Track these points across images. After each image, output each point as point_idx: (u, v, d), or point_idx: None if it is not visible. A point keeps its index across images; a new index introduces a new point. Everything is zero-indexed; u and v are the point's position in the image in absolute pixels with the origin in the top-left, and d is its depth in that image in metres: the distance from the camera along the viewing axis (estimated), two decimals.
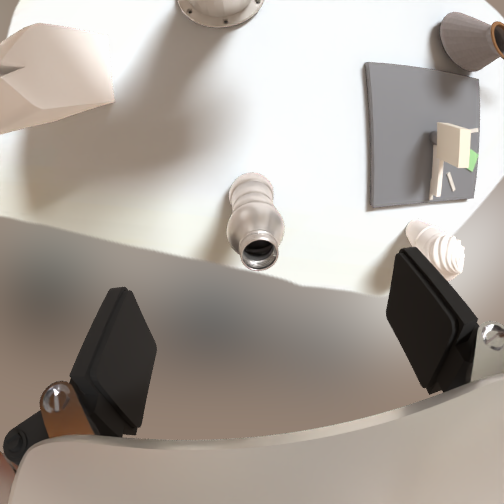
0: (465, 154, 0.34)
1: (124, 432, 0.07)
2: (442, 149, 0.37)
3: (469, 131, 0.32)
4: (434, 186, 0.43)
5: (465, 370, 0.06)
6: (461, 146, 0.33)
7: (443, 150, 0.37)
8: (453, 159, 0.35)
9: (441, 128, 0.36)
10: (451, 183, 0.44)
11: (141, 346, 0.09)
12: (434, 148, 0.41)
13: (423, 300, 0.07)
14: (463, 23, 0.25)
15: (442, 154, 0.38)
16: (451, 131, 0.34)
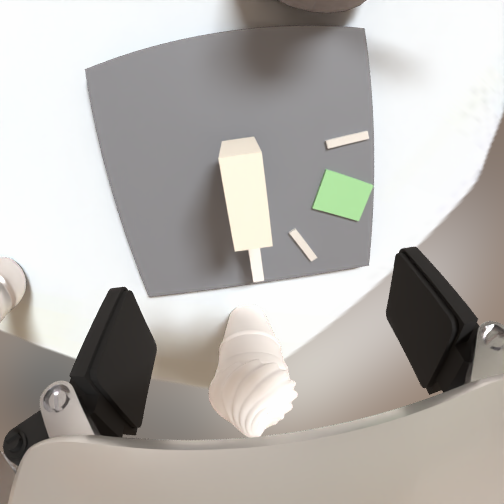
0: (253, 218, 0.18)
1: (124, 432, 0.07)
2: None
3: (257, 157, 0.16)
4: None
5: (465, 370, 0.06)
6: (233, 201, 0.17)
7: None
8: None
9: None
10: (304, 248, 0.29)
11: (141, 346, 0.09)
12: None
13: (423, 300, 0.07)
14: None
15: None
16: None
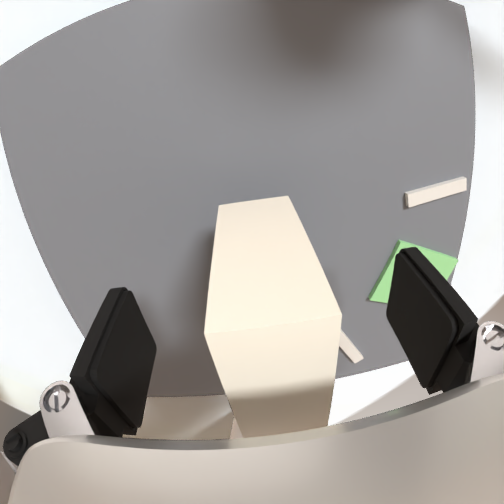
0: (293, 423, 0.07)
1: (124, 432, 0.07)
2: None
3: (325, 328, 0.05)
4: None
5: (465, 370, 0.06)
6: (250, 407, 0.06)
7: None
8: None
9: None
10: (347, 350, 0.18)
11: (141, 346, 0.09)
12: None
13: (423, 300, 0.07)
14: None
15: None
16: None
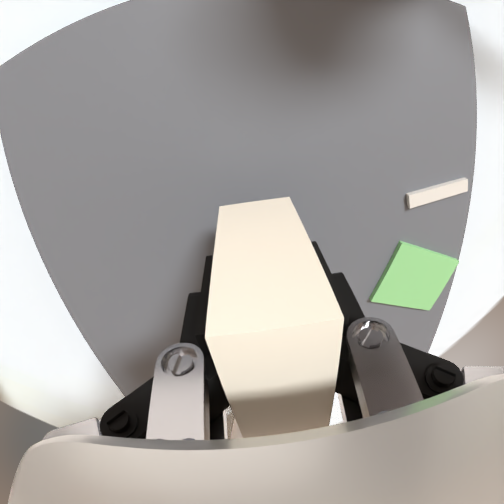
0: (295, 426, 0.07)
1: None
2: None
3: (327, 331, 0.05)
4: None
5: (339, 365, 0.07)
6: (251, 410, 0.06)
7: None
8: None
9: None
10: None
11: None
12: None
13: None
14: None
15: None
16: None
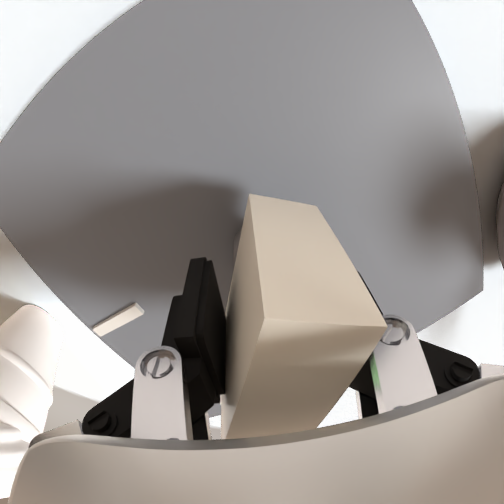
0: (284, 427, 0.07)
1: None
2: (228, 320, 0.11)
3: (369, 336, 0.05)
4: None
5: None
6: (257, 403, 0.06)
7: (227, 328, 0.10)
8: (224, 404, 0.08)
9: (245, 232, 0.09)
10: None
11: (220, 315, 0.10)
12: None
13: None
14: None
15: None
16: (249, 282, 0.07)
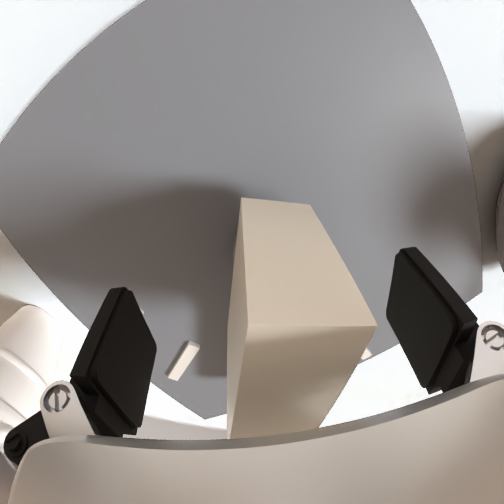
0: (285, 427, 0.07)
1: (124, 432, 0.07)
2: (230, 324, 0.11)
3: (359, 336, 0.05)
4: None
5: (465, 370, 0.06)
6: (255, 406, 0.06)
7: (229, 331, 0.10)
8: (228, 407, 0.08)
9: (238, 236, 0.09)
10: (179, 365, 0.18)
11: (141, 346, 0.09)
12: None
13: (423, 300, 0.07)
14: None
15: (228, 340, 0.11)
16: (240, 287, 0.07)
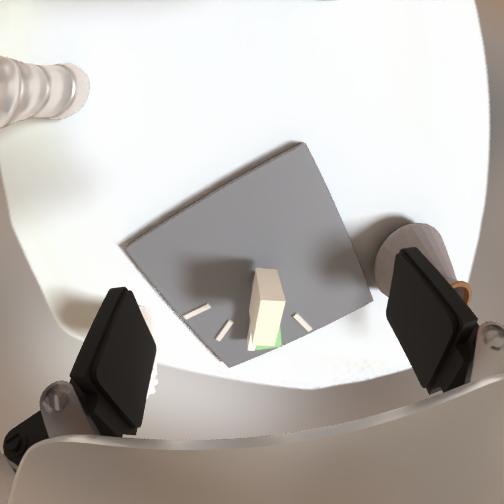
0: (268, 331, 0.30)
1: (124, 432, 0.07)
2: (251, 307, 0.34)
3: (282, 303, 0.28)
4: (248, 337, 0.39)
5: (465, 370, 0.06)
6: (261, 321, 0.29)
7: (251, 309, 0.33)
8: (252, 330, 0.31)
9: (255, 280, 0.32)
10: (222, 332, 0.40)
11: (141, 346, 0.09)
12: None
13: (423, 300, 0.07)
14: (435, 247, 0.31)
15: (250, 312, 0.34)
16: (257, 294, 0.30)
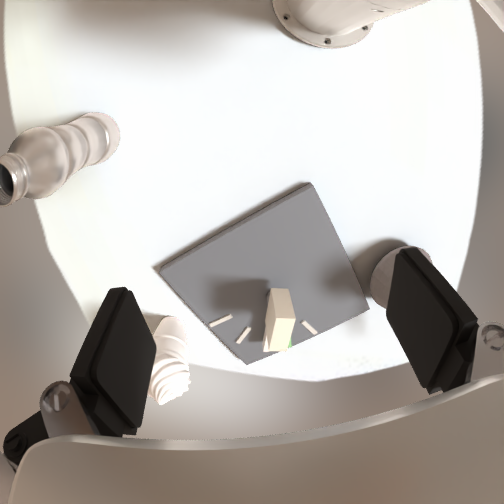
0: (282, 340, 0.37)
1: (124, 432, 0.07)
2: (267, 319, 0.41)
3: (292, 320, 0.35)
4: (264, 341, 0.46)
5: (465, 370, 0.06)
6: (276, 333, 0.36)
7: (267, 321, 0.40)
8: (268, 339, 0.38)
9: (271, 298, 0.39)
10: (241, 336, 0.48)
11: (141, 346, 0.09)
12: None
13: (423, 300, 0.07)
14: None
15: (266, 323, 0.41)
16: (273, 311, 0.37)
